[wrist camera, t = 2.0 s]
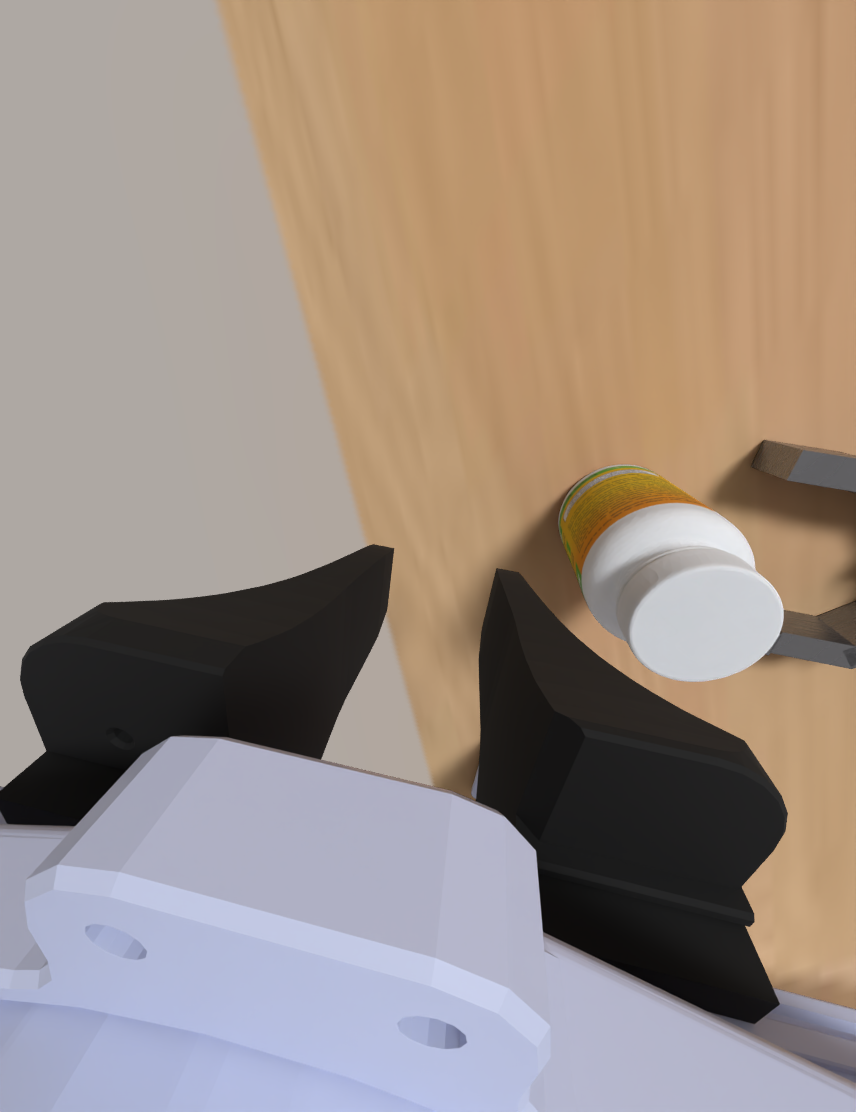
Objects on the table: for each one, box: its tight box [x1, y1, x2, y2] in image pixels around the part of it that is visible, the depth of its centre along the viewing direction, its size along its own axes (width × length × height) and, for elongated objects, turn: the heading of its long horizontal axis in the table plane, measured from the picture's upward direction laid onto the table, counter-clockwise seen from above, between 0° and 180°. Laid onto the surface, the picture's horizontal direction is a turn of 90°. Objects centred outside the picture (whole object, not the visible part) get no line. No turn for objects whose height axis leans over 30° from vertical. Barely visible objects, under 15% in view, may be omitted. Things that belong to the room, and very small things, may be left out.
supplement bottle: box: [558, 465, 784, 682], centre depth 16 cm, size 5×5×10 cm
